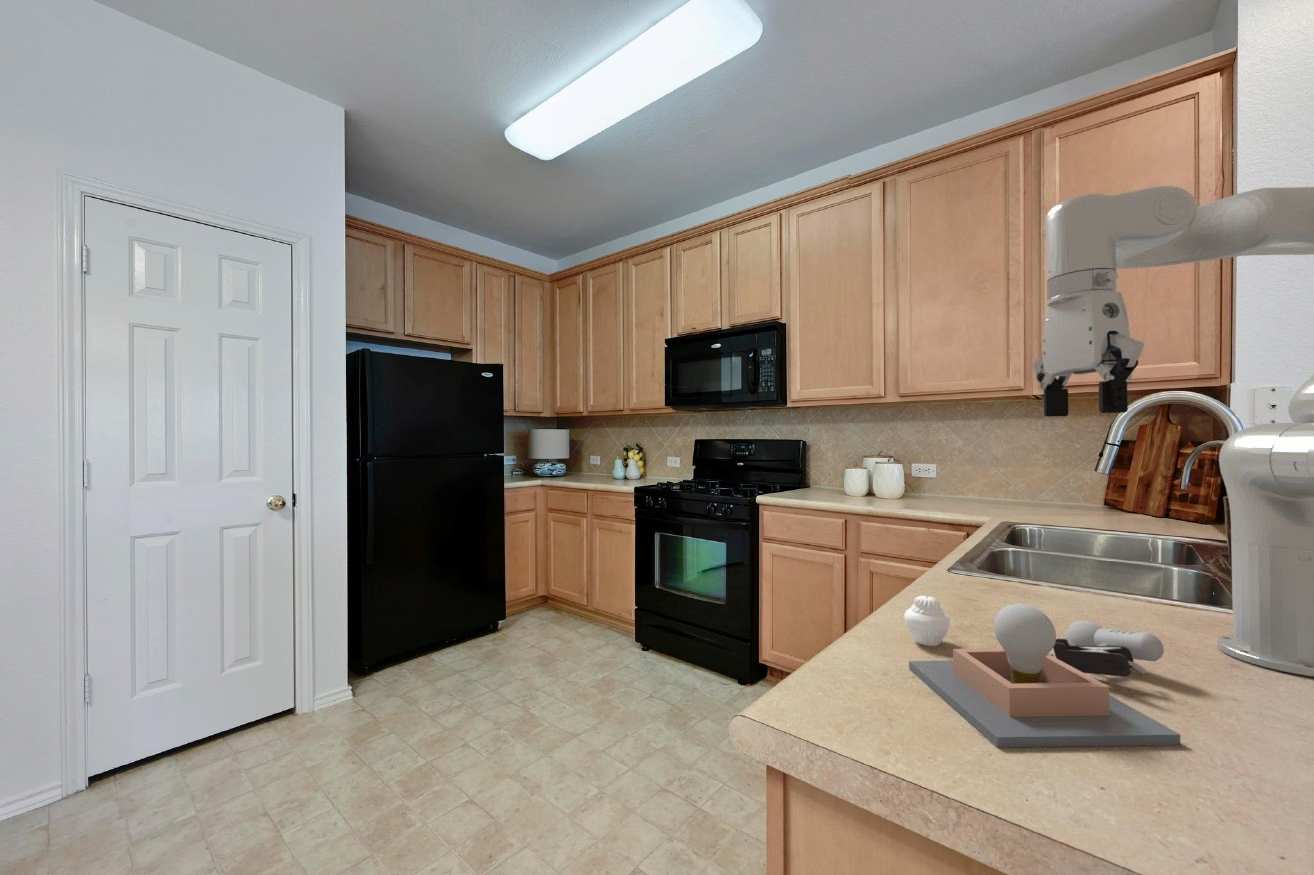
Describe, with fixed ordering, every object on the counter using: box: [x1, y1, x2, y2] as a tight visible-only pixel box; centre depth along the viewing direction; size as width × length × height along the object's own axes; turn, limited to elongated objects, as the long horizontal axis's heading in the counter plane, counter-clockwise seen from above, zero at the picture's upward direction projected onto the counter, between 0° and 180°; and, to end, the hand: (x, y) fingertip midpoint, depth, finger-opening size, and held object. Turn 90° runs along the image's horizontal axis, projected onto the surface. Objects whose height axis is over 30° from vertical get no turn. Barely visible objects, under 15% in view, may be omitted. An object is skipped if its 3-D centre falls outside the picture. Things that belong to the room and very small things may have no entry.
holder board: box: [908, 647, 1181, 748], centre depth 61 cm, size 18×18×4 cm
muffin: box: [903, 594, 951, 647], centre depth 79 cm, size 6×6×7 cm
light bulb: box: [993, 603, 1057, 684], centre depth 61 cm, size 6×6×10 cm
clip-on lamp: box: [1052, 620, 1165, 678], centre depth 72 cm, size 12×6×18 cm
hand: (1082, 414), depth 73 cm, fingers open, 9 cm apart
